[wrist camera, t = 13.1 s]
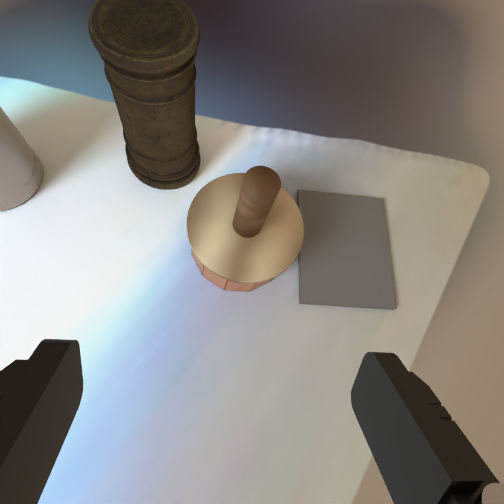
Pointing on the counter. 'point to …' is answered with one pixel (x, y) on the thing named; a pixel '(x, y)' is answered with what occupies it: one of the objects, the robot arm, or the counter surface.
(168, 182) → the container
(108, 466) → the counter surface
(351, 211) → the mat
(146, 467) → the counter surface
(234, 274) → the lid
